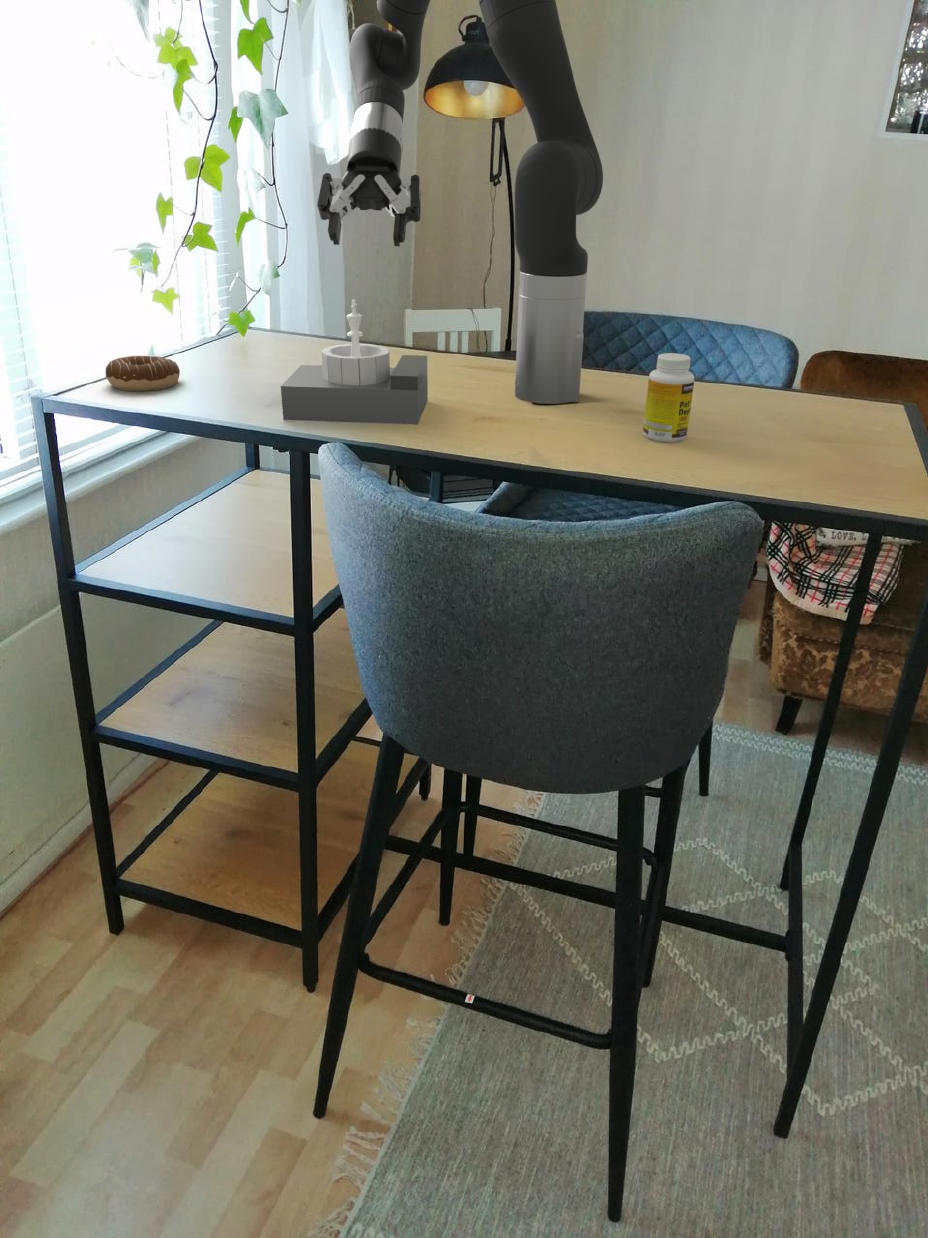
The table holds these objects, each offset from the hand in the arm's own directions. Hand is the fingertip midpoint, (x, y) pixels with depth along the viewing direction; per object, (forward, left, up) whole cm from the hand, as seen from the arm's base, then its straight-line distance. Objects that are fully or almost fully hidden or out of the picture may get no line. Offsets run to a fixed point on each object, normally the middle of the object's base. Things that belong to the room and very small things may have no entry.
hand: (365, 241), depth 128 cm
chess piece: (0, +11, -16) cm, 20 cm away
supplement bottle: (-41, +19, -21) cm, 50 cm away
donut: (+34, +1, -21) cm, 40 cm away
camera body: (0, +11, -20) cm, 23 cm away
